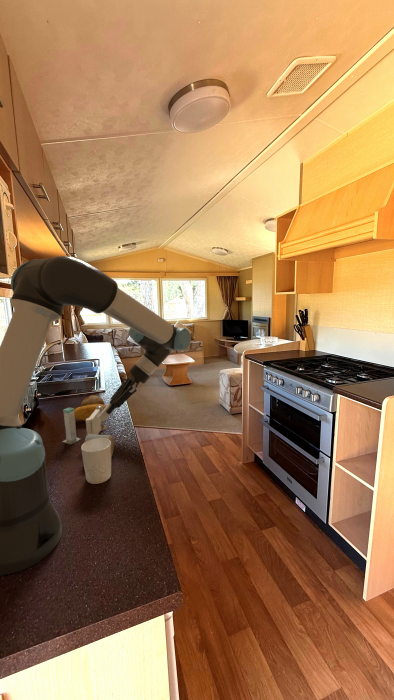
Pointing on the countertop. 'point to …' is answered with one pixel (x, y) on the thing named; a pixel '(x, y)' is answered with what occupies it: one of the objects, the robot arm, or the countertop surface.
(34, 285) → the robot arm
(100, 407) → the gate posts
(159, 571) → the countertop surface
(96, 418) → the gate
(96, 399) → the bread roll
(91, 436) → the ceramic mug
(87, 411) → the potato
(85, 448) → the white cup
